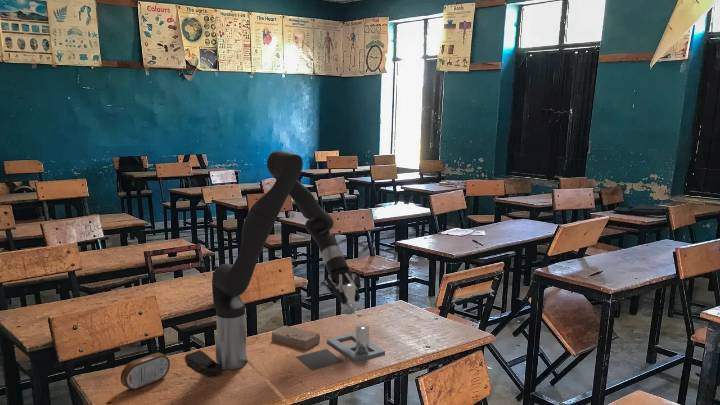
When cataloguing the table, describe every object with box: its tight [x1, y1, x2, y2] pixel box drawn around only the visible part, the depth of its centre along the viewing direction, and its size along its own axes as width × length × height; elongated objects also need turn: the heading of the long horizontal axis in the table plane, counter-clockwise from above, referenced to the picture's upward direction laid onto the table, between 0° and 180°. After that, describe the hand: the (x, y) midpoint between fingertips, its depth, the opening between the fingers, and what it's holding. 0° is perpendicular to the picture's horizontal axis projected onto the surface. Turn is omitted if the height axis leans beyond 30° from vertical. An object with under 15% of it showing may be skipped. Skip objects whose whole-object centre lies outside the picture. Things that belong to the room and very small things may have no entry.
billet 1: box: [341, 283, 356, 315], centre depth 189 cm, size 5×5×10 cm
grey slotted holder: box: [326, 332, 386, 363], centre depth 187 cm, size 12×19×2 cm, turn 32°
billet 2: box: [355, 324, 370, 355], centre depth 183 cm, size 5×5×10 cm
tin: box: [120, 352, 171, 390], centre depth 162 cm, size 15×3×8 cm, turn 142°
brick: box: [270, 325, 321, 350], centre depth 193 cm, size 17×8×5 cm, turn 59°
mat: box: [295, 348, 345, 372], centre depth 178 cm, size 12×12×1 cm
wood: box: [185, 349, 222, 378], centre depth 175 cm, size 22×7×3 cm, turn 39°
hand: (351, 301), depth 187 cm, fingers closed on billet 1, 4 cm apart
